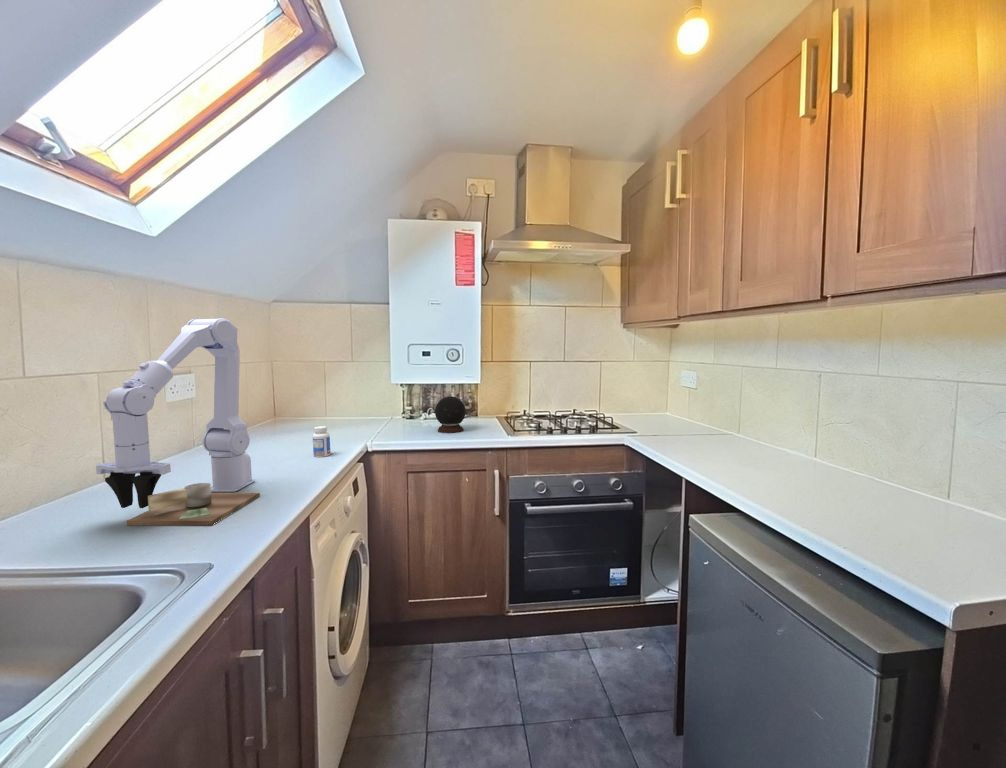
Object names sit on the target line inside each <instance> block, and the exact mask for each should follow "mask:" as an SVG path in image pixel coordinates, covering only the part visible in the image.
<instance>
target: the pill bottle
mask: <svg viewBox="0 0 1006 768" xmlns="http://www.w3.org/2000/svg"><path fill="white" fill-rule="evenodd" d="M313 431H314V433H313V434H312V448H313V449H312V450H313V451H312V452H313V457H315V458H324V457H328V456H330V455H331V438H330V437H331V436H330V433H329V432H327V431H328V426H325V425H319V426H315V427H313Z"/></svg>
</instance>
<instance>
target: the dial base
mask: <svg viewBox="0 0 1006 768" xmlns="http://www.w3.org/2000/svg"><path fill="white" fill-rule="evenodd" d="M260 495H261V494H260V492H211V499H212V502H211V503H209V504H207V505H203V506H199V507H186V506H185V503H184V504H179V505H175V506H171V507H166V508H162V509H158V510H154V511H150V510H149V509H148V510H147V511H144V512H143V513H142V512H141V513H139V514H138V515H135V516H134V517H130V519H127V520H126V526H214V525H215V524H217V523H218V521H219V520H220V521H222V520H223V518H224V517H225V518H227V517H229V516H230V515H232V514H233V512H234V513H235V512H237V511H239V510H240V509H242V508H243V507H246V506H247V505H249V504H250V503H252V502H253V501H255V500H256V499H258V498H260ZM238 509H239V510H238ZM231 513H232V514H231ZM228 515H229V516H228ZM226 516H227V517H226ZM225 518H224V519H225ZM221 519H222V520H221ZM220 521H219V522H220ZM216 522H217V523H216ZM214 523H215V524H214ZM213 524H214V525H213Z"/></svg>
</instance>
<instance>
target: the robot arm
mask: <svg viewBox="0 0 1006 768" xmlns="http://www.w3.org/2000/svg"><path fill="white" fill-rule="evenodd" d="M197 348H202V349H204V350H206V351H208V352H209V353H210V354H211V355H212V356H214V383H213V384H214V387H213V389H214V390H213V391H214V392H213V396H214V397H213V418H212V419H210V421H208V423H207V424H206V426H205V427H206V429H205V433H204V435H203V437H202V446H203V448H204V449H205V450H206V451H207V452H208V455H209V456H210V461H211V477H212V478H211V479H212V485H211V493H236V492H238V491H239V490H241V489H243V488H245V487H247V486H249V485H251V484H253V483H254V482H256V479H254V478H253V477H252V475H253V474H252V460H251V456H250V454H249V453H248V452H247V449H248V448H249V445H250V440H251V438H250V436H249V435H250V434H249V433H248V425H247V423H246V422H244V421H243V420H242V419H241V418H240V417H239V399H240V357H241V355H240V354H241V353H240V347H239V344H238V328H237V327H236V325H234V323H233V322H232V321H231V320H229V319H228V318H225V317H224V318H223V317H221V318H220V317H219V318H206V319H205V318H203V319H202V318H192V319H191V320H188V321H187V323H186V324H185V325H183V326H182V327H181V330H180V334H179V335H177V337H176V338H175V339H174V340H173V341H172V343H171V344H170V345H169V346H168V347H167V348H166V349H165V351H164V352H163V353H162V354H161V355H160V356H159V357H158V359H157V360H148V361H146V362H142V363H140V364H139V365H138V367H139V369H138V370H137V371H136V372H135V373H134V374H133V375H132V376H131V377H130V378H129V379H126V380H124V382H123V383H122V384H123V385H122V387H118V388H113V389H112V390H110V392H109V393H108V394H107V397H106V398H105V399H106V400H105V401H103V406H104V409H105V410H106V411H107V412H108V413H109V414H110V419H111V421H112V430H113V431H112V432H113V446H114V458H115V459H114V460H115V462H103V463H100V464H96V465H95V469H96V471H95V472H96V475H103V474H109V476H107V477H105V478H104V482H105V483H106V484H107V485H108V486H109V487H110V488H111V490H112V491H113V492H114V495H115V496H116V498H117V501H118V503H119V505H120V508H121V509H125V508H128V507H130V506H133V503H134V494H133V493H134V492H133V491H134V490H133V489H134V488H135V491H136V495H137V505H138V508H139V509H145V508H148V496H149V495H153V494H154V491H155V489H156V486H157V483H158V481H159V480H160V479H161V477H162V475H167V474H169V473H171V472H172V471H171V463H169V462H168V463H167V462H158V461H151V454H150V453H151V452H150V451H151V450H150V449H151V448H150V438H149V437H150V435H149V420H148V412H149V411H151V410H152V409H153V408H154V405H155V398H156V397H157V395H158V394H159V393H160V392H161V390H163V388H164V387H165V386H166V385H167V384H168V383H169V382H170V381H171V380H172V379H173V378H174V372H173V369H175V368H176V367H177V366H178V365H179V364H180V363H181V362H182V361H184V359H186V358H187V357H188V356H189V355H191V353H192V352H193V351H194V350H195V349H197ZM136 474H139V475H136Z"/></svg>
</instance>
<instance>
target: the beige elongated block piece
mask: <svg viewBox="0 0 1006 768" xmlns="http://www.w3.org/2000/svg"><path fill="white" fill-rule="evenodd" d="M211 487H212V485H211V483H209V482H200V483H199V482H198V483H192V484H188V485H186V486H184V487H182V488H178V489H174V490H168V491H164V492H159V493H153V494H152V495H149V496H148V506H147V508H148V509H147V510H148V511H149V510H150V511H154V510H158V509H162V508H166V507H171V506H175V505H179V504H184V503H185V506H186V507H199V506H203V505H207V504H209V503H211V502H212V499H211V493H212V492H211Z"/></svg>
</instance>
